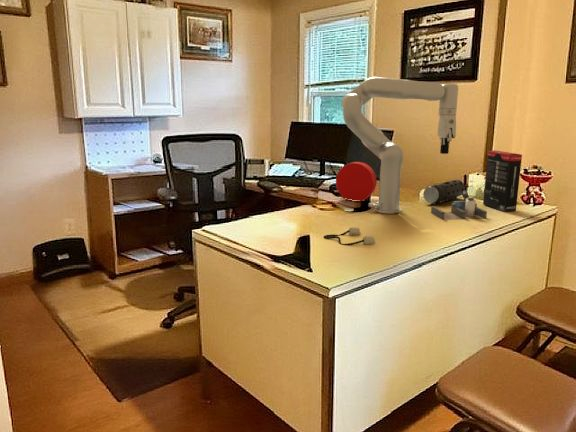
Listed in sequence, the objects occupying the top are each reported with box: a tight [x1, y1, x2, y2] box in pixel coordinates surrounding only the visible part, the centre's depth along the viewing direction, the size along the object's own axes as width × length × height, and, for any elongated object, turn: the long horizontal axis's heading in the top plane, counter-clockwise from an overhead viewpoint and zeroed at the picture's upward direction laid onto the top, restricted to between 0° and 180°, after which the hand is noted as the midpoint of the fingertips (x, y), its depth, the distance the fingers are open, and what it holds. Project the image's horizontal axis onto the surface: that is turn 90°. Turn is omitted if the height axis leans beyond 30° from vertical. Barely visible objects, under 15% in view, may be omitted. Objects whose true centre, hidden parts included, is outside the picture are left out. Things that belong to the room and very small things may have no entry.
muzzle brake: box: [423, 179, 466, 205], centre depth 244 cm, size 10×28×10 cm, turn 135°
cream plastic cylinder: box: [465, 197, 476, 217], centre depth 209 cm, size 4×4×8 cm
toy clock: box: [335, 161, 377, 202], centre depth 245 cm, size 20×6×20 cm, turn 66°
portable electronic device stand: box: [462, 190, 470, 201], centre depth 227 cm, size 9×8×8 cm
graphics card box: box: [482, 150, 523, 213], centre depth 227 cm, size 17×7×27 cm, turn 14°
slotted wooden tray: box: [430, 200, 488, 221], centre depth 211 cm, size 20×14×6 cm
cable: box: [323, 226, 376, 246], centre depth 176 cm, size 16×16×4 cm
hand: (444, 153), depth 217 cm, fingers closed
